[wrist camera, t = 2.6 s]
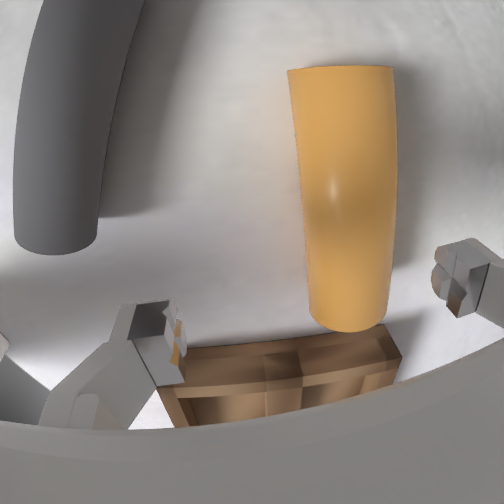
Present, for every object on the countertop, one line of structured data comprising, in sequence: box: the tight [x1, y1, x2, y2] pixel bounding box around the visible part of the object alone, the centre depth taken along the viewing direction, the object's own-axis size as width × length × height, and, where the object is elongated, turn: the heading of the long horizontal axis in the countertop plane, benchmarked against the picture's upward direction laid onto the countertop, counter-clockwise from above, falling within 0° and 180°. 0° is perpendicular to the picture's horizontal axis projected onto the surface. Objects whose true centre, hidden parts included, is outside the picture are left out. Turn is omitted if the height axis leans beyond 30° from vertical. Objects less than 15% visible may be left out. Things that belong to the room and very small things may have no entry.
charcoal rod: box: [13, 0, 145, 255], centre depth 10 cm, size 11×4×4 cm, turn 163°
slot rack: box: [156, 324, 402, 428], centre depth 22 cm, size 14×18×3 cm
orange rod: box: [287, 65, 398, 332], centre depth 13 cm, size 11×4×4 cm
